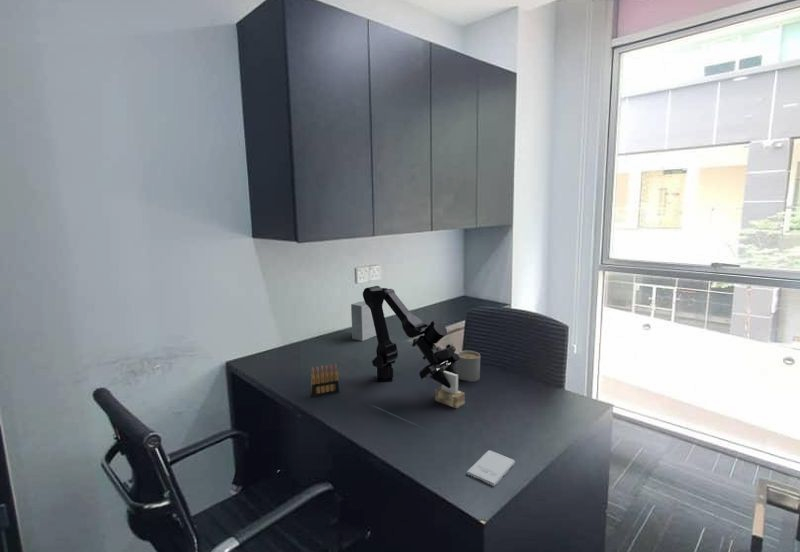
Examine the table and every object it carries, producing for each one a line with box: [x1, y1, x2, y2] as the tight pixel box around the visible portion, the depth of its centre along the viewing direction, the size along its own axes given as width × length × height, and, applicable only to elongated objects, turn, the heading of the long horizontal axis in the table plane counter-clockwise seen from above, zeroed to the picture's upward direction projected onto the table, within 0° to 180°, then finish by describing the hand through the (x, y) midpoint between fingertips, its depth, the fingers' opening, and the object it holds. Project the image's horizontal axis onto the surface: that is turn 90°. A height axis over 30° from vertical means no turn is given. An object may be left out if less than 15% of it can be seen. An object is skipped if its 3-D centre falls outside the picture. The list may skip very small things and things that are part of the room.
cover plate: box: [441, 371, 459, 395], centre depth 148 cm, size 6×2×11 cm, turn 48°
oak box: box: [434, 386, 466, 409], centre depth 149 cm, size 10×5×4 cm, turn 48°
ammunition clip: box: [310, 362, 340, 398], centre depth 156 cm, size 11×2×12 cm, turn 113°
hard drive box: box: [350, 300, 377, 342], centre depth 227 cm, size 16×8×20 cm, turn 144°
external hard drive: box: [466, 449, 516, 487], centre depth 111 cm, size 2×8×12 cm
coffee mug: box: [454, 350, 481, 383], centre depth 173 cm, size 13×10×10 cm
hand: (453, 385), depth 147 cm, fingers open, 4 cm apart
